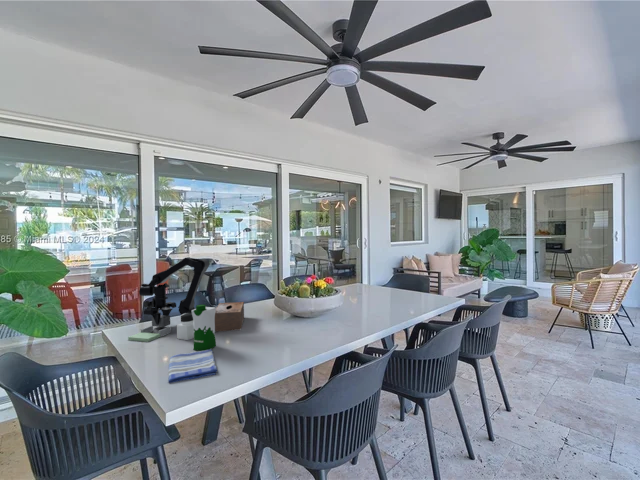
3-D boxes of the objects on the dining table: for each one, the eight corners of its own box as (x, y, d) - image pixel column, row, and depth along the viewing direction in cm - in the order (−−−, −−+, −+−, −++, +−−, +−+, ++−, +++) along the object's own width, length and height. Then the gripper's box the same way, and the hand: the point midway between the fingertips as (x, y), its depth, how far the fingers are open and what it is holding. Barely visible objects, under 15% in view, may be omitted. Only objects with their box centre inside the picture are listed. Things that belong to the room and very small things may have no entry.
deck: (170, 332, 171) (170, 326, 171) (148, 341, 156) (148, 335, 156) (151, 331, 174) (151, 325, 174) (127, 340, 160) (127, 334, 160)
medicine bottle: (198, 336, 164) (197, 312, 163) (187, 340, 157) (186, 316, 157) (188, 334, 167) (187, 311, 166) (176, 338, 160) (176, 315, 160)
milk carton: (190, 350, 144) (189, 306, 143) (203, 343, 152) (202, 301, 152) (206, 352, 141) (205, 307, 140) (219, 345, 149) (218, 302, 149)
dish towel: (213, 353, 140) (213, 347, 140) (218, 375, 119) (218, 368, 118) (169, 361, 134) (169, 354, 133) (166, 385, 112) (166, 377, 112)
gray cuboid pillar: (170, 324, 181) (170, 315, 181) (163, 327, 176) (163, 318, 176) (158, 323, 183) (158, 314, 183) (151, 326, 178) (151, 317, 178)
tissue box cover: (219, 319, 196) (219, 303, 196) (244, 318, 199) (243, 301, 198) (212, 332, 171) (212, 313, 171) (240, 330, 173) (240, 311, 173)
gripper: (160, 292, 190) (161, 318, 191) (134, 298, 172) (135, 327, 173) (176, 292, 187) (177, 319, 188) (151, 299, 169) (152, 328, 170)
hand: (161, 323), depth 180 cm, fingers closed on gray cuboid pillar, 5 cm apart
